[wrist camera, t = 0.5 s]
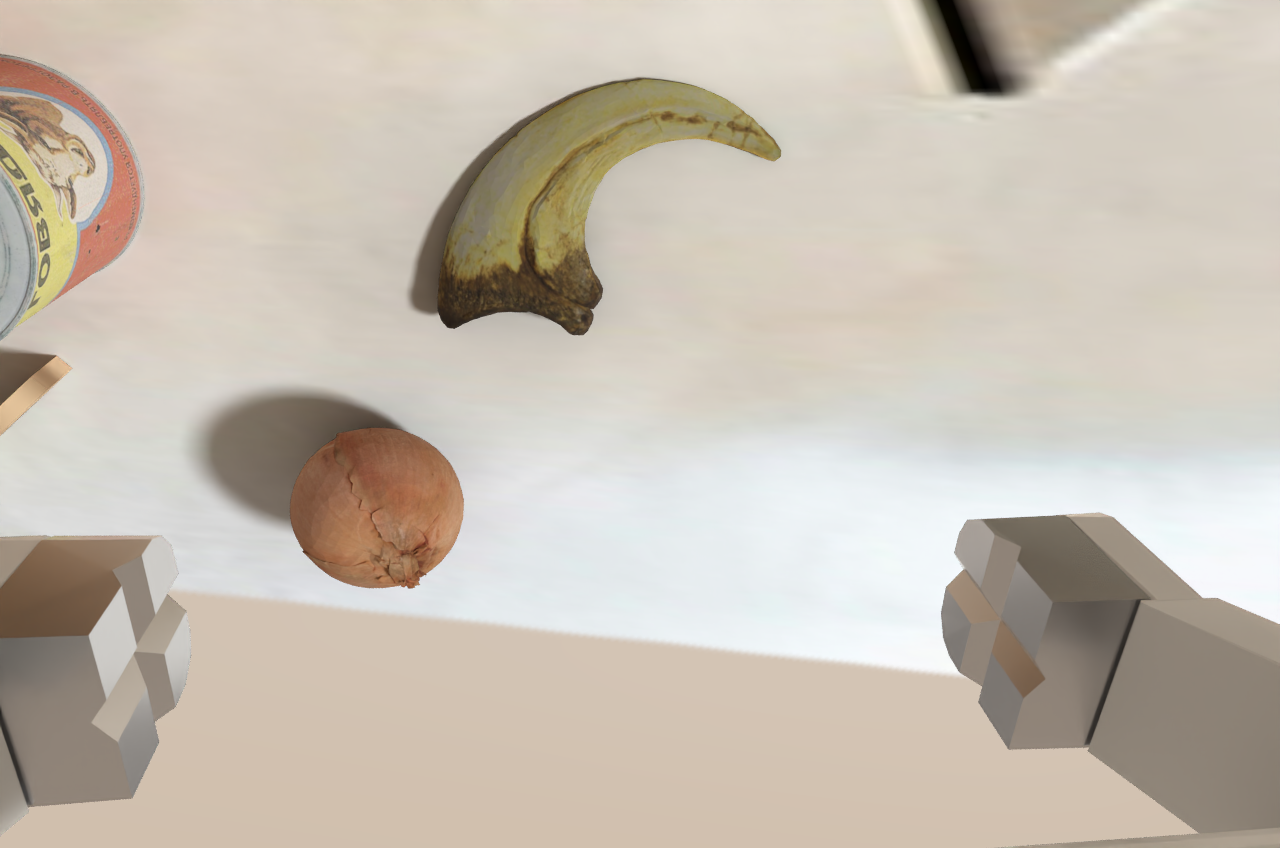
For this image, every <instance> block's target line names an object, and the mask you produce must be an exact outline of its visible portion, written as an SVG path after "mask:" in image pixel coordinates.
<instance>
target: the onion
mask: <svg viewBox="0 0 1280 848" xmlns="http://www.w3.org/2000/svg"><path fill="white" fill-rule="evenodd" d="M336 436H337V437H336V439H334V440H332V441H330V442H329V443H327V444H326V445H324V446H323V447H322V448H321V449H319V450H318V451H317V452H316V453H315V454H314V455H313V456H312V457H310V458H309V460H308V461H307V462H306V464H305V465H304V467H303V469H302V470H301V472H300V474H299V476H298V478H297V480H296V483H295V485H294V488H293V492H292V496H291V502H290V519H291V523H292V527H293V531H294V534H295V536H296V538H297V540H298V542H299V544H300V546H301V547H302V549H303V550H304V551H302V552H303V553H305V554H306V555H307V556H308V557H309V558H310V559H311V560H312V561H313V562H314V563H315V564H316V565H317V566H318V567H319V568H320V569H321V570H323V571H324V572H325V573H327V574H328V575H329V576H331V577H333V578H335V579H337V580H339V581H342V582H344V583H347V584H350V585H354V586H358V587H365V588H387V587H395V586H400V585H401V587H405V586H406V585H407V587H408V588H409V589H410V588H415V586H416V585H420V584H419V582H418V581H419V580H420V578H419V577H422V576H424V575H426V573H428V572H429V571H431V570H432V569H433V568H434V567H435V566H437V565H438V564H439V563H440V562H441V561H442V560H443V559H444V557H445V556H446V555H447V554H448V552H449V551H450V550H451V548H452V547H453V545H454V543H455V541H456V539H457V536H458V533H459V531H460V527H461V523H462V520H463V507H464V499H463V494H462V490H461V487H460V483H459V480H458V478H457V476H456V473H455V471H454V470H453V468H452V466H451V464H450V463H449V462H448V460H447V459H446V458H445V457H444V456H443V455H442V454H441V453H440V452H439V451H438V450H437V449H436V448H435V447H433V446H432V445H431V444H429V443H428V442H426V441H425V440H423V439H421V438H420V437H418V436H415V435H413V434H410V433H408V432H405V431H402V430H398V429H389V428H366V429H358V430H353V431H348V432H342V433H338V434H336Z"/></svg>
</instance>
